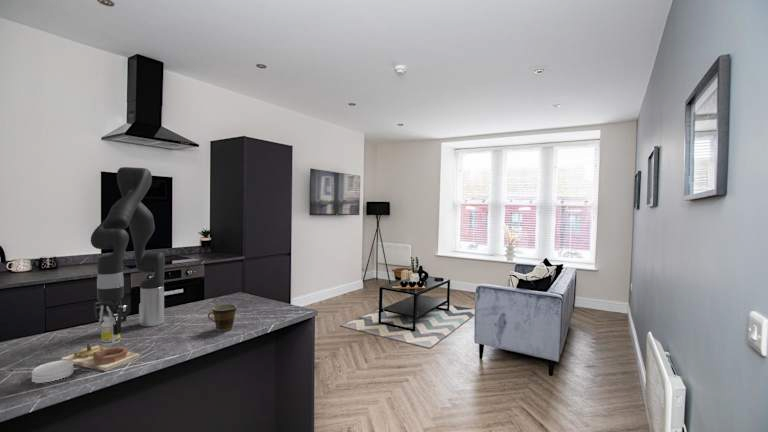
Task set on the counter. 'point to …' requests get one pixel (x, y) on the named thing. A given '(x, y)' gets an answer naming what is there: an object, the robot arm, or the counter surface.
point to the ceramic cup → (224, 316)
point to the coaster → (52, 371)
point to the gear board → (101, 357)
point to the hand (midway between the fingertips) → (110, 332)
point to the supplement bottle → (108, 331)
